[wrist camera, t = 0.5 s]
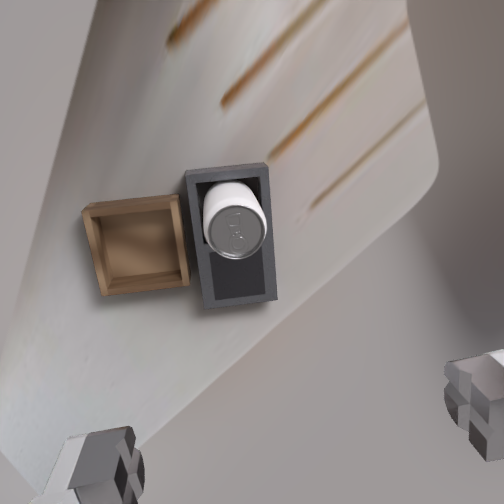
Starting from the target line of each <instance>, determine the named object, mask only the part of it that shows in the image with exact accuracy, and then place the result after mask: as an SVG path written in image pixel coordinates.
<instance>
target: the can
mask: <svg viewBox="0 0 504 504" xmlns="http://www.w3.org/2000/svg"><path fill="white" fill-rule="evenodd" d="M203 228H204V235H205V238H206V240H207V242H208V244H209V245H210V247H211V248H212V249H213V250H214V251H216V252H217V253H218V254H219V255H221V256H223V257H225V258H228V259H234V260H237V259H244V258H247V257H249V256H251V255H252V254H254V253H255V252H256V251H257V250H258V249H259V248H260V246H261V245H262V243H263V241H264V238H265V235H266V231H267V223H266V218H265V215H264V213H263V211H262V209H261V207H260V205H259V203H258V201H257V199H256V198H255V196H254V194H253V192H252V191H251V189H250V188H249V187H248V186H247V185H246V184H244V183H243V182H241V181H238V180H234V179H230V180H221V181H219V182H217V183H215V184H214V185H213V186H212V187H211V188H210V189H209V190H208V192H207V193H206V196H205V199H204V207H203Z"/></svg>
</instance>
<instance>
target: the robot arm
mask: <svg viewBox="0 0 504 504" xmlns="http://www.w3.org/2000/svg"><path fill="white" fill-rule="evenodd" d="M444 375H445V376H446V377H447V379H448V380H449V383H448V384H447V386H446V387H445V388H444V400H445V404H446V407H447V410H448V412H449V414H450V416H451V418H452V419H453V421H454V422H455V423H456V425H457V426H458V427H460V428H462V429H464V430H466V431H468V432H469V441H470V443H471V444H472V445H473V446H474V448H475V449H476V450H477V451H478V452H479V454H480V455H481V456H482V457H483V459H484V460H485V461H486V462H490V461H495V460H501V459H504V349H502V350H497V351H493V352H488V353H485V354H481V355H476V356H472V357H467V358H462V359H457V360H453V361H448V362H446V365H445V369H444ZM135 440H136V437H135V434H134V431H133V429H132V427H130V426H125V427H120V428H114V429H108V430H103V431H97V432H91V433H89V434H82V435H77V436H71V437H69V438H68V439H67V440H66V441H65V442H64V444H63V447H62V449H61V451H60V454H59V456H58V458H57V461H56V463H55V466H54V468H53V470H52V473H51V475H50V477H49V480H48V482H47V484H46V487H45V489H44V492H43V494H42V495H40V496H36V497H35V498H34V499H32V501H30V502H29V503H28V504H138V502H137V500H138V498H139V497H140V496H141V495H142V493H143V490H144V482H145V476H144V475H145V469H144V463H143V458H142V455H141V452H140V451H139V450H138V449H136V448H135V447H134V445H135Z"/></svg>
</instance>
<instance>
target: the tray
mask: <svg viewBox="0 0 504 504" xmlns="http://www.w3.org/2000/svg"><path fill="white" fill-rule="evenodd" d="M185 177H186V184H187V191H188V198H189V205H190V212H191V219H192V226H193V233H194V240H195V247H196V254H197V261H198V268H199V275H200V282H201V289H202V296H203V303H204V309H211V308H218V307H226V306H234V305H242V304H250V303H257V302H265V301H273V300H278V298H277V284H276V270H275V256H274V242H273V227H272V213H271V199H270V185H269V171H268V166H267V165H266V164H265V163H264V162H262V163H253V164H243V165H233V166H224V167H214V168H204V169H195V170H186V174H185ZM249 177H257V184H258V196H259V205H260V207H261V209H262V211H263V213H264V215H265V218H266V223H267V231H266V235H265V238H264V241H263V243H262V245H261V246H260V248H259V249H258V250H257V251H256V252H255V253H254V254H252V255H251V256H249V257H247V258H244V259H237V260H234V259H228V258H225V257H223V256H221V255H219V254H218V253H217V252H216V251H214V250H213V249H212V248H211V247H210V245H209V244H208V242H207V240H206V238H205V236H204V234H203V227H202V219H201V212H200V204H199V197H198V189H197V183H201V182H211V181H220V180H230V179H239V178H249Z"/></svg>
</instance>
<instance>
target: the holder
mask: <svg viewBox="0 0 504 504" xmlns="http://www.w3.org/2000/svg"><path fill="white" fill-rule="evenodd" d="M81 212H82V217H83V221H84V225H85V229H86V233H87V237H88V241H89V246H90V250H91V254H92V258H93V262H94V266H95V271H96V275H97V279H98V283H99V287H100V291H101V295H102V296H109V295H117V294H125V293H133V292H142V291H150V290H158V289H166V288H174V287H182V286H190V279H191V270H190V263H189V257H188V250H187V244H186V237H185V230H184V224H183V217H182V210H181V204H180V197H179V194H171V195H161V196H152V197H143V198H133V199H124V200H115V201H105V202H96V203H90V204H89V205H88V206H87V207H85V208H84V209H83V210H82V211H81Z"/></svg>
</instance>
